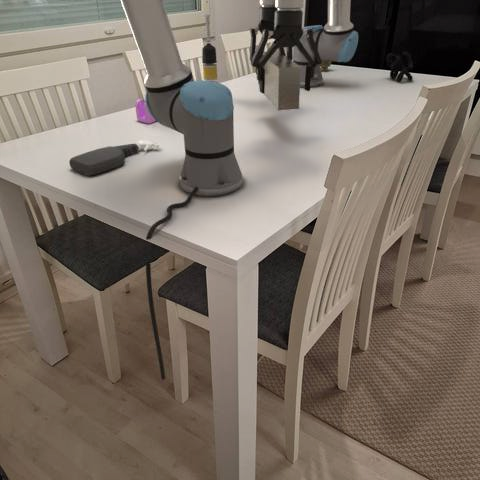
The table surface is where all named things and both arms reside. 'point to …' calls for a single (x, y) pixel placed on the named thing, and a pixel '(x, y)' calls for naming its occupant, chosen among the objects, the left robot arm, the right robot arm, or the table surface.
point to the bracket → (143, 112)
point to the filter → (209, 57)
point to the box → (282, 82)
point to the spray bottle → (106, 157)
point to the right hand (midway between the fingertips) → (270, 83)
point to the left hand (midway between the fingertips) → (284, 91)
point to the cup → (325, 65)
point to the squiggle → (399, 66)
